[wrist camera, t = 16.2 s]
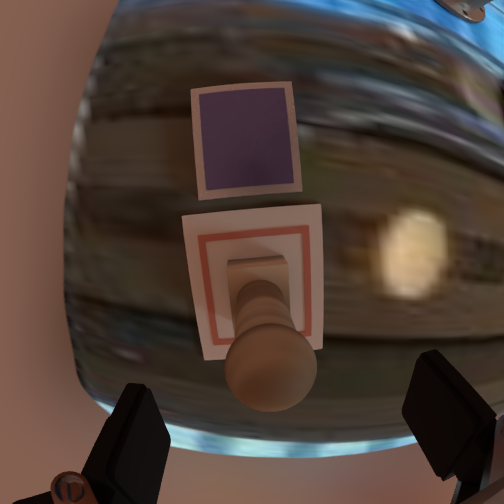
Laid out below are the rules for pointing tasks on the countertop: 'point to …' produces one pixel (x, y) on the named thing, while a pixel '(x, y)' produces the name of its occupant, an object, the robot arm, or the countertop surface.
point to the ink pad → (245, 140)
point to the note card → (252, 246)
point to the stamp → (265, 337)
